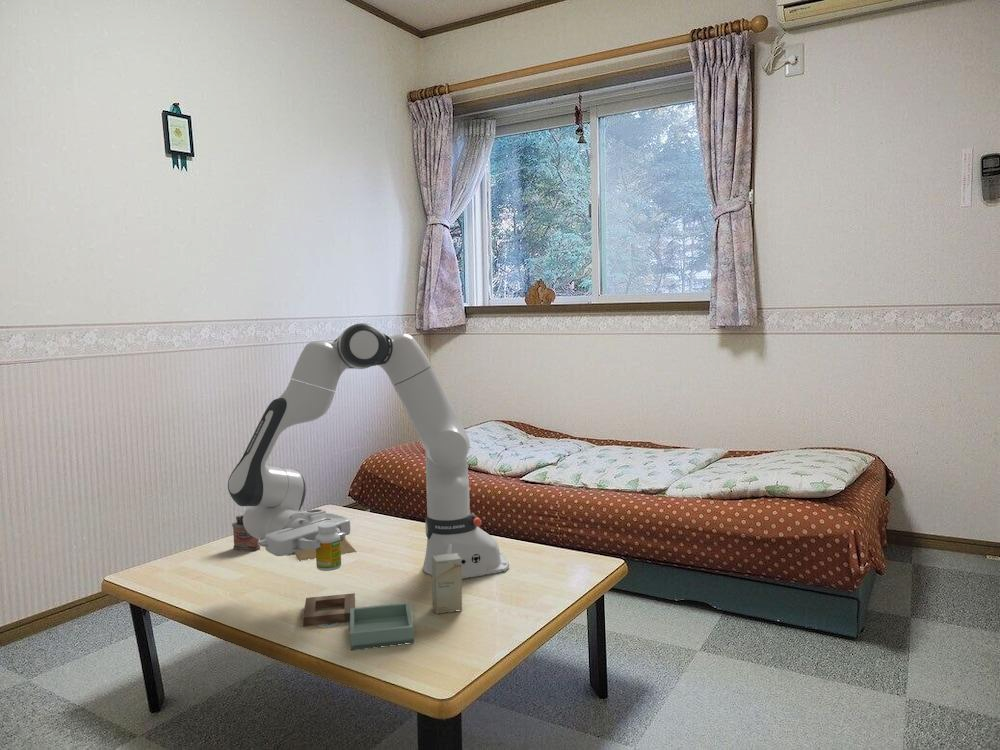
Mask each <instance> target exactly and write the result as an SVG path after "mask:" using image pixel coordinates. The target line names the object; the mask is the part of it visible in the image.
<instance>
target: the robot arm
mask: <svg viewBox="0 0 1000 750" xmlns="http://www.w3.org/2000/svg"><path fill="white" fill-rule="evenodd" d="M375 366H379V367H380V368H382V370H383V371H384V372H385V373H386V375H387V376H388V378H389V380H390V383H391V385H392V386H393V388H394V391H395V392H396V394H397V396H398V397H399V399H400V401H401V404H402V405H403V408H404V409H405V411H406V413H407V415H408V418H409V420H410V422H411V424H412V426H413V428H414V430H415V433H416V435H417V437H418V439H419V441H420V442H421V445H422V447H423V448H424V451H425V452H424V453H425V455H424V456H425V479H426V481H425V482H426V484H425V485H426V511H427V514H426V515H425V535H426V538H427V539H426V549H425V556H424V561H423V566H422V570H423V572H425V573H426V574H428V575H431V576H432V555H442V554H452V553H458V554H459V556H460V557H461V570H462V580H464V579H468V578H469V577H470V578H474V577H480V576H486V575H485V574H487V575H492V574H491V573H493V574H496V573H495V572H499V573H503V572H502V571H504V572H506V571H505V570H507V569H509V568H510V563H509V560H508V557H507V556H505V554H503V553H501V552H500V548H499V544H498V542H497V540H496V539H495V538H494V537H493V536H492V535H490V534H489V533H487V532H486V531H484V530H483V529H482V528H481V526H482V523H483V522H482V520H481V518H480V517H478V515H476V514H475V513H474V512H471V511H470V510H471V509H470V508H471V507H470V480H469V466H468V455H469V452H470V439H469V437H468V435H467V432H466V429H465V427H464V426H463V424H462V423H461V420H460V419H459V416H458V415H457V413H456V410H455V409H454V407H453V405H452V403H451V401H450V399H449V397H448V395H447V393H446V391H445V389H444V387H443V385H442V384H441V383H442V382H441V381H440V380H439V379H440V378H439V377H438V376H437V373H436V372H435V371H436V370H434V367H433V366H432V364H431V362H430V360H429V358H428V356H427V354H425V352H424V351H423V349H422V347H421V346H420V345H419V343H418V342H417V341H416V339H415V338H414V337H413V336H412V335H411V334H408V333H402V332H401V333H396V334H393V335H391V336H390V335H388V334H386V333H385V332H383V331H382V330H381V329H380V328H378V327H376V326H374V325H372V324H369V323H366V322H365V323H362V322H361V323H355V324H353V325H349V326H348V327H347V328H345V329H344V330H343V331H342V332H341V334H340V335H339V336H338V337H337V338H336V339H335V340H334V341H332V342H329V341H324V340H314V341H310V342H308V343H307V344H306V345H305V346H304V347H303V349H302V351H301V353H300V355H299V357H298V360H297V361H296V363H295V366H294V368H293V371H292V374H291V376H290V380H289V382H288V385H287V386H286V388H285V390H284V391H283V393H281V395H280V396H279V397H278V398H276V399H273V400H272V401H271V402H270V403H269V404H268V406H267V407H266V409H265V411H264V412H263V414H262V416H261V418H260V420H259V422H258V423H257V426H256V428H255V430H254V432H253V435H252V436H251V438H250V441H249V443H248V444H247V446H246V448H245V451H244V453H243V455H242V457H241V459H240V460H239V461H238V463H237V464H236V466H235V468H234V469H233V470H232V472H231V473H230V476H229V477H228V481H227V490H228V494H229V495H230V497H231V499H232V500H233V501H234V502H235V504H236V505H238V506H240V507H247V509H245V511H244V513H243V515H244V516H243V524H244V527H245V529H246V531H247V532H248V533H249V534H250V535H251V536H253V537H255V538H257V539H259V541H258V542H257V543H258V545H259V546H260V547H262V548H265V551H266V552H267V553H269V554H272V555H273V556H276V557H284V556H288V555H290V554H291V553H294V552H297V551H300V550H303V549H312V550H316V549H319V548H321V546H320V544H321V543H320V541H319V540H316V536H317V535H318V534H319V532H318V525H319V524H321V523H326V522H333V523H336V526H337V531H336V532H337V533H339V534H340V541H343V540H345V538H346V536H348V535H350V534H351V521H350V519H349V518H348V517H346V516H343V515H339V514H337V513H336V514H335V513H331V512H327V511H326V509H322V508H321V509H319V508H318V509H311V510H310V509H309V510H301V509H302V507H303V505H304V502H305V498H306V493H307V486H306V482H305V479H304V477H303V475H302V474H301V472H300V471H298V470H296V469H292V468H291V469H290V468H286V467H276V466H271V465H266V464H267V462H268V460H269V457H270V455H271V453H272V451H273V449H274V447H275V445H276V443H277V442H278V441H277V440H278V438H279V436H280V435H281V434H282V433H283V432H284V431H285V430H286V429H288V428H290V427H292V426H295V425H299V424H303V423H308V422H313V421H315V420H318V419H320V418H321V417H322V416H324V415H325V414H326V413H327V412H328V410H329V409H330V408H331V405H332V403H333V401H334V400H333V399H334V397H335V392H336V389H337V385H338V382H339V380H340V377H341V376H342V374H343V372H345V371H346V370H347V369H352V370H353V369H357V370H363V369H368V368H370V367H375ZM291 555H292V554H291ZM508 567H509V568H508ZM507 571H508V570H507Z"/></svg>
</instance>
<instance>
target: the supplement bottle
mask: <svg viewBox="0 0 1000 750" xmlns="http://www.w3.org/2000/svg"><path fill="white" fill-rule="evenodd" d="M336 531H337V526H336V523H333V522H326V523H321V524H319V525H318V532H319V534H318V535H317V536H316V540H319V541H320V543H321V544H320V546H321V548H319V549H316V559H315V560H316V569H318V571H323V572H330V571H337V569H339V568H341V566H342V554H341V543H340V534H339V533H337V532H336Z"/></svg>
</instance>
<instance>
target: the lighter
mask: <svg viewBox="0 0 1000 750" xmlns="http://www.w3.org/2000/svg"><path fill="white" fill-rule="evenodd" d="M243 516H244V514H242V515H236V516H235V521H234V522H232V524H231V526H232V532H233V547H232V548H233V550H234V549H236V550H235V551H239V550H244V551H243V552H258V551H260V550H261V546H259V545H258V543H257V542H258V541H260V540H259V539H257V538H255V537H253V536H251V535H250V534H249V533H248V532H247V531H246V529H245V527H244V524H243ZM257 550H258V551H257Z"/></svg>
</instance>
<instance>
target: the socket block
mask: <svg viewBox="0 0 1000 750" xmlns="http://www.w3.org/2000/svg"><path fill="white" fill-rule="evenodd" d="M342 607H344V608H343V609H333V608H342ZM350 608H356V594H355V592H354V593H343V594H342V593H341V594H333V595H332V594H331V595H324V596H323V595H321V596H314V597H313V596H311V597H305V603H304V609H303V614H302V625H303V626H302V627H303V628H304V627H313V626H321V625H330V624H341V623H350ZM322 609H332V610H323V611H317V610H322Z"/></svg>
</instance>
